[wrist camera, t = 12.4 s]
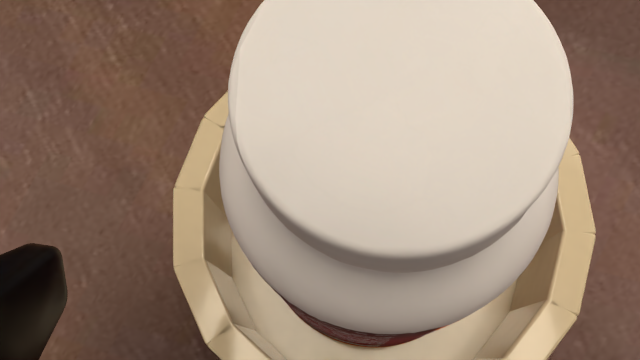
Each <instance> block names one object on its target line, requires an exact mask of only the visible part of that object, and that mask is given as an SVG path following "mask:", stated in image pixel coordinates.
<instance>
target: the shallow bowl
mask: <svg viewBox="0 0 640 360" xmlns="http://www.w3.org/2000/svg"><path fill="white" fill-rule="evenodd" d="M228 114H229V111H228V91H227V92H226V93H225V94H224V95H223V96H222V97H221V98H220V99H219V100H218V101H217V102H216V103H215V105H214V106H213V107H212V108H211V109H210V110H209V111H208V112H207V113H206V114H205V115H204V118H203V119H202V120H201V123H200V125H199V128H198V130H197V132H196V135H195V137H194V140H193V142H192V145H191V147H190V149H189V152H188V154H187V157H186V159H185V162H184V164H183V166H182V169H181V171H180V174H179V176H178V179H177V181H176V183H175V188H174V189H173V267H174V271H175V274H176V276H177V278H178V281H179V283H180V286H181V288H182V290H183V293H184V295H185V297H186V300H187V302H188V304H189V307H190V309H191V311H192V314H193V316H194V318H195V321H196V323H197V326H198V328H199V330H200V333H201V335H202V337H203V340H204V342H205V344H207V346H208V348H209V349H211V350H212V351H213V352H214V353H215V354H216V355H217V356H218V357H219V358H220V359H221V360H547V359H548V358H549V356H550V355H551V354H552V352H553V351H554V350H555V348H556V347H557V346H558V344H559V343H560V342H561V340H562V339H563V338H564V336H565V335H566V334H567V332H568V331H569V330H570V328H571V327H572V326H573V324H574V323H575V322H576V319H577V317H576V316H578V315H579V314H580V309H581V304H582V300H583V295H584V290H585V285H586V281H587V276H588V271H589V267H590V262H591V257H592V253H593V248H594V243H595V235H594V234H595V233H596V230H595V225H594V220H593V215H592V211H591V206H590V201H589V196H588V191H587V186H586V182H585V177H584V172H583V167H582V162H581V157H580V155H578V154H579V152H578V150H577V149H576V147H575V146H574V144H573V143H572V141H571V140H570V138H569V139H568V143H567V147H566V149H565V152H564V155H563V157H562V160H561V162H560V164H559V167H558V168H559V178H558V191H557V198H556V203H555V208H554V212H553V216H552V219H551V223H550V226H549V229H548V231H547V233H546V235H545V237H544V239H543V241H542V243H541V245H540V247H539V249H538V251H537V253H536V254H535V256H534V258H533V259H532V261H531V262H530V264H529V265H528V266H527V268H526V269H525V270H524V271H523V272H522V274H521V275H520V276H519V277H518V278H517V279H516V280H515V282H514V283H513V284H512V285H511V286H509V287H508V288H507V289H506V290H505V291H504V292H503V293H502V294H500V295H499V296H498V297H497V298H495V299H494V300H492V301H491V302H490V303H488V304H487V305H485V306H484V307H482V308H480V309H479V310H477V311H476V312H474V313H472V314H470V315H469V316H467V317H465V318H463V319H461V320H459V321H457V322H455V323H453V324H451V325H448V326H446V327H444V328H441V329H438V330H436V331H434V332H431V333H429V334H426V335H424V336H422V337H420V338H418V339H415V340H413V341H410V342H407V343H404V344H399V345H395V346H390V347H378V348H376V347H361V346H354V345H349V344H345V343H342V342H339V341H336V340H333V339H331V338H329V337H327V336H325V335H323V334H321V333H320V332H318V331H316V330H314V329H313V328H312V327H310V326H309V325H307V324H306V323H305V322H304V321H303V320H302V319H300V318H299V317H298V316H297V315H296V314H295V313H294V311H293V310H292V309H291V308H290V307H289V306H288V304H287V303H286V302H285V301H284V300H283V299H282V298H281V297H280V296H279V295H278V294H277V293H276V292H275V291H274V290H273V289H272V288H271V287H270V286H269V285H268V284H267V283H266V282H265V280H264V279H263V278H262V277H261V276H260V275H259V273H258V272H257V271H256V270H255V269H254V268H253V266H252V264H251V263H250V261H249V260H248V258H247V257H246V255H245V254H244V252H243V251H242V249H241V247H240V245H239V244H238V242H237V240H236V238H235V236H234V234H233V232H232V229H231V227H230V225H229V222H228V219H227V216H226V213H225V210H224V205H223V201H222V195H221V187H220V177H219V160H220V150H221V142H222V135H223V131H224V127H225V123H226V119H227V117H228Z"/></svg>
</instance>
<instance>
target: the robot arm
mask: <svg viewBox="0 0 640 360" xmlns="http://www.w3.org/2000/svg"><path fill="white" fill-rule="evenodd" d="M66 302H67V285H66V279H65V272H64V266H63V259H62V255H61V252H60V251H59V249H58V248H56V247H54V246H48V245H42V244H35V243H30V244H26V245H23V246H21V247H18V248H16V249H14V250H11V251H9V252H6V253H4V254H1V255H0V360H39V358H40V356H41V354H42V352H43V350H44V348H45V346H46V344H47V342H48V340H49V338H50V336H51V334H52V332H53V330H54V328H55V326H56V324H57V322H58V320H59V318H60V316H61V314H62V312H63V310H64V308H65V305H66Z"/></svg>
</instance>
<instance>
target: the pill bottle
mask: <svg viewBox="0 0 640 360" xmlns="http://www.w3.org/2000/svg"><path fill="white" fill-rule="evenodd" d="M228 111H229V114H228V117H227V119H226V123H225V127H224V131H223V135H222V142H221V150H220V160H219V177H220V187H221V195H222V201H223V205H224V210H225V213H226V216H227V219H228V222H229V225H230V227H231V229H232V232H233V234H234V236H235V238H236V240H237V242H238V244H239V245H240V247H241V249H242V251H243V252H244V254H245V255H246V257H247V258H248V260H249V261H250V263H251V264H252V266H253V268H254V269H255V270H256V271H257V272H258V273H259V275H260V276H261V277H262V278H263V279H264V280H265V282H266V283H267V284H268V285H269V286H270V287H271V288H272V289H273V290H274V291H275V292H276V293H277V294H278V295H279V296H280V297H281V298H282V299H283V300H284V301H285V302H286V303H287V304H288V306H289V307H290V308H291V309H292V310H293V311H294V313H295V314H296V315H297V316H298V317H299V318H300V319H302V320H303V321H304V322H305V323H306V324H307V325H309V326H310V327H312V328H313V329H314V330H316V331H318V332H320V333H321V334H323V335H325V336H327V337H329V338H331V339H333V340H336V341H339V342H342V343H345V344H349V345H354V346H361V347H376V348H378V347H390V346H395V345H399V344H404V343H407V342H410V341H413V340H415V339H418V338H420V337H422V336H424V335H426V334H429V333H431V332H434V331H436V330H438V329H441V328H444V327H446V326H448V325H451V324H453V323H455V322H457V321H459V320H461V319H463V318H465V317H467V316H469V315H470V314H472V313H474V312H476V311H477V310H479V309H480V308H482V307H484V306H485V305H487V304H488V303H490V302H491V301H492V300H494V299H495V298H497V297H498V296H499V295H500V294H502V293H503V292H504V291H505V290H506V289H507V288H508V287H509V286H511V285H512V284H513V283H514V282H515V280H516V279H517V278H518V277H519V276H520V275H521V274H522V272H523V271H524V270H525V269H526V268H527V266H528V265H529V264H530V262H531V261H532V259H533V258H534V256H535V254H536V253H537V251H538V249H539V247H540V245H541V243H542V241H543V239H544V237H545V235H546V233H547V231H548V229H549V226H550V223H551V219H552V216H553V212H554V208H555V203H556V198H557V191H558V178H559V168H558V167H559V164H560V162H561V160H562V157H563V155H564V152H565V149H566V147H567V143H568V139H569V136H570V130H571V124H572V118H573V87H572V81H571V75H570V69H569V65H568V61H567V57H566V54H565V52H564V49H563V47H562V45H561V42H560V40H559V38H558V36H557V34H556V32H555V30H554V28H553V26H552V25H551V23H550V21H549V20H548V18H547V17H546V16H545V14H544V13H543V11H542V10H541V9H540V8H539V6H538V5H537V4H536V3H535V2H534V1H533V0H264V1H263V2H262V3H261V5H260V6H259V7H258V9H257V10H256V12H255V13H254V15H253V16H252V17H251V19H250V20H249V22H248V24H247V26H246V28H245V30H244V31H243V33H242V35H241V38H240V40H239V43H238V46H237V48H236V51H235V54H234V58H233V62H232V66H231V71H230V77H229V82H228Z"/></svg>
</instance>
